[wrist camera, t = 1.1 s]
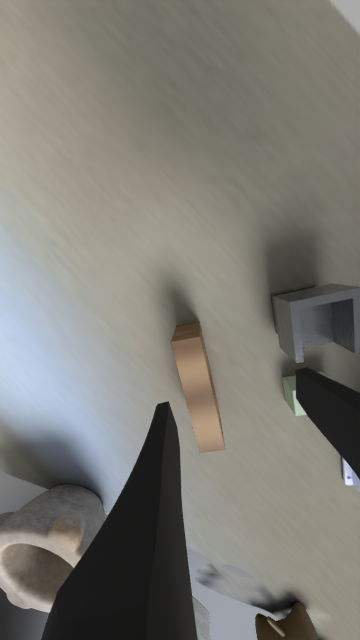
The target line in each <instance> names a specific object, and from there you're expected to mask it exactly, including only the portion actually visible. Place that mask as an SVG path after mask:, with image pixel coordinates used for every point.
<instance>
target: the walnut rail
mask: <svg viewBox="0 0 360 640" xmlns="http://www.w3.org/2000/svg"><path fill="white" fill-rule="evenodd" d="M171 345H172V349H173V353H174V356H175V360H176V364H177V368H178V372H179V376H180V380H181V383H182V387H183V391H184V395H185V399H186V403H187V406H188V410H189V414H190V418H191V422H192V426H193V430H194V433H195V437H196V441H197V445H198V449H199V453H202V452H211V451H220V450H225V445H224V438H223V432H222V425H221V419H220V413H219V408H218V404H217V399H216V395H215V390H214V385H213V381H212V376H211V372H210V367H209V363H208V358H207V353H206V349H205V344H204V340H203V335H202V330H201V326H200V321H199V322H194V323H189V324H184V325H179V326H176V329H175V332H174V335H173V338H172V340H171Z"/></svg>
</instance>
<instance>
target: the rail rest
mask: <svg viewBox="0 0 360 640" xmlns="http://www.w3.org/2000/svg"><path fill="white" fill-rule="evenodd" d="M318 373H320V374H322V375H324V376H326V377H328V378H330V379H332V378H331V377H330V376H328V375H327V374H326V373H325V372H323V371H319V372H318ZM282 380H283V388H284V395H285V401H286V402H287V404H288V405H289V407H290V408H291V410H292V411H293V413H294V414H295V416H300V415H307V414H306V413H305V411H304V410H303V408H302V407H301V405H300V404H299V402H298V401H297V399H296V375H294V376H288V377H282ZM332 380H333V379H332Z"/></svg>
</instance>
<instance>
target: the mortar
mask: <svg viewBox="0 0 360 640" xmlns="http://www.w3.org/2000/svg"><path fill="white" fill-rule="evenodd" d="M104 521H105V513H104V508H103V504H102V502H101V500H100V499H99V497H98V496H97V495H96V494H94V493H93V492H91V491H90V490H88V489H86V488H84V487H81V486H77V485H66V484H65V485H59V486H56V487H54V488H52V489H50V490H48V491H46V492H44V493H43V494H41V495H39V496H38V497H36V498H35V499H33V500H32V501H30V502H29V503H28V504H26V505H25V506H24V507H22V508H21V509H20V510H18V511H16V512H7V513H3V514H0V587H1V588H2V589H3V590H4V591H5V592H6V593H7V598H8V599H9V600H10V602H11V603H13V604H14V605H16V606H18V607H21V608H24V609H28V608H34V609H38V610H40V611H44V612H49V613H50V610H51V608H52V605H53V603H54V600H55V597H56V594H57V591H58V590H59V589H60V587H61V586H62V584H63V583H64V582H65V580H66V579H67V577H68V576H69V574H70V573H71V571H72V570H73V569H74V567H75V566H76V564H77V563H78V561H79V560H80V559H81V557H82V556H83V554H84V553H85V551H86V550H87V548H88V547H89V545H90V544H91V542H92V541H93V539H94V537H95V536H96V534H97V533H98V531H99V529H100V528H101V526H102V525H103V523H104Z"/></svg>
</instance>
